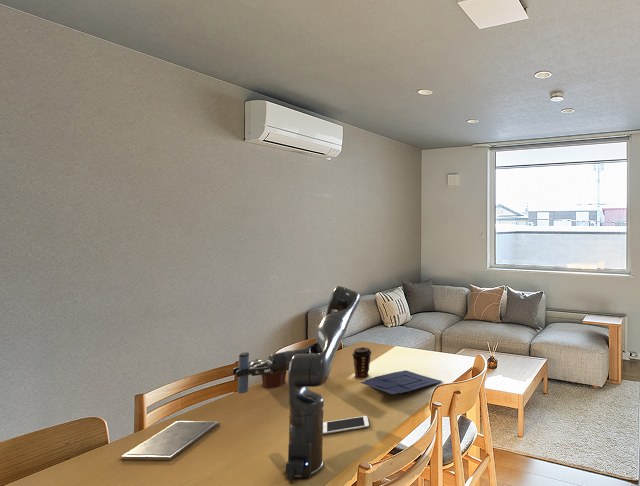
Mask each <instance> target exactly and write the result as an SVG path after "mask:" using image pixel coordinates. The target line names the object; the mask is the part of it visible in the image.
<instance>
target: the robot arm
mask: <svg viewBox="0 0 640 486" xmlns="http://www.w3.org/2000/svg"><path fill="white" fill-rule="evenodd" d="M360 300H361V295H360V293H359V292H357V291H356V290H353V289H350V288H347V287H344V286H341V285H337V286H335V288H334V289H333V291H332V292H331V294H330V297H329V299H328V304H327V308H326V312H325V316H324V317H323V318H322V319H321V321H320V323H319V324H318V326H317V327H316V330H315V334H314V337H315V342H313V343H311V344H309V345H307V346H305V347H303V348H298V349H292V350H286V351H281V352H276V353H272V354H270V355H268V358H267V359H260V360H259V359H258V358H257V359H254V360H251V361H250V360H249V368H246V369H242V370H239V366H237V367H233V368H232V375H235V377H237V378H238V377H240V376H245V375H248V376H252V377H255V376H262V375H264V374H270V373H271V374H276V373H280V372H284V371H287V384H288V385H287V386H288V406H289V417H288V418H289V420H288V422H289V423H288V449H287V450H288V451H287V453H288V454H287V457H288V458H287V461H286V463H285V474H286V475H287V478H288V479H290V481H291V482H294V481H295V480H296V479H310V478H311V476H313V475H315V474H316V473H318V472H320V471H321V469H322V468H323V464H324V461H323V455H324V454H323V453H324V452H323V450H324V448H323V447H324V446H323V444H324V443H323V442H324V434H323V422H324V407H325V405H324V400H325V399H324V397H323V396H322V395H321V394H320V393H317V392H314V391H312V390H311V389H309V388H315V387H321V386H323V385H324V384H325V383H327V380H328V378H329V376H330V373H331V370H332V367H333V364H334V360H335V357H336V354H337V352H338V349H339V347H340V345H341V343H342V341H343V338H344V337H345V334H346V332H347V329H348V327H349V323H350V322H351V319H352V317H353V315H354V314H355V312H356V310H357V308H358V307H359V305H360Z"/></svg>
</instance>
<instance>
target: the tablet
mask: <svg viewBox="0 0 640 486" xmlns="http://www.w3.org/2000/svg"><path fill="white" fill-rule="evenodd" d="M219 424H220V423H219V421H214V420H213V421H211V420H210V421H208V420H206V421H205V420H204V421H202V420H177V421H175V422H173V423H172V424H170V425H169V426H167V427H165V428H164V429H162V430H161V431H159V432H157V433H156V434H154V435H152V436H151V437H149V438H148V439H147V440H145V441H143V442H142V443H140V444H139V445H137V446H135V447H134V448H132V449H130V450H129V451H127V452H126V453H124V454H123V455H121V460H128V461H129V460H131V461H132V460H133V461H137V460H138V461H171V460H173V459H174V458H175V457H177V456H178V455H179V454H181V453H182V452H183V451H185V450H186V449H187V448H189V447H190V446H192V445H193V444H194V443H196V442H197V441H198V440H200V439H201V438H202V437H204V436H206V434H208V433H209V432H210V431H211V430H213V429H214V428H216V427H217V426H218V425H219Z"/></svg>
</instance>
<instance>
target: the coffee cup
mask: <svg viewBox="0 0 640 486" xmlns="http://www.w3.org/2000/svg"><path fill="white" fill-rule="evenodd" d="M371 354H373V353H372V351H371V349H370V348H369V347H365V346H364V347H358V348H357V347H356V348H354V350H353V352H352V358H353V367H354V378H355V380H366V379H367V378H368V377H369V371H370V364H371Z"/></svg>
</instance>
